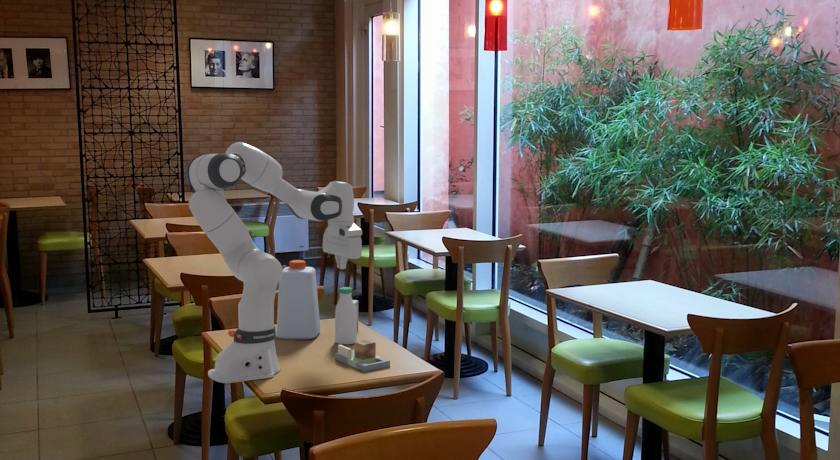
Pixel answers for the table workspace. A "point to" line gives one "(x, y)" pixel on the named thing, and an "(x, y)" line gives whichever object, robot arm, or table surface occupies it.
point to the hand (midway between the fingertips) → (341, 268)
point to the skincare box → (356, 310)
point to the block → (365, 349)
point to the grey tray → (360, 360)
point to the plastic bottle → (298, 303)
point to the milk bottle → (345, 318)
